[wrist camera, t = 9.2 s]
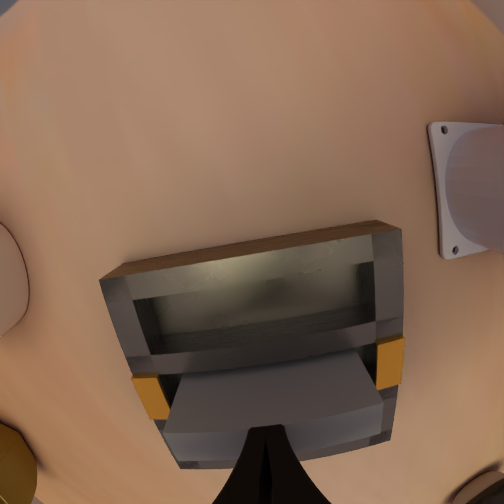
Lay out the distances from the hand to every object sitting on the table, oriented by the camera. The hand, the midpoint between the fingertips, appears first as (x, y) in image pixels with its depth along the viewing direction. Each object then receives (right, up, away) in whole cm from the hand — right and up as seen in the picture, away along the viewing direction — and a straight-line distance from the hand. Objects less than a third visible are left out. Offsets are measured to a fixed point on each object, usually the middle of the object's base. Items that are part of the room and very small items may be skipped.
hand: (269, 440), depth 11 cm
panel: (0, +1, +6) cm, 6 cm away
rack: (0, +2, +6) cm, 7 cm away
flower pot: (-28, -14, +11) cm, 33 cm away
